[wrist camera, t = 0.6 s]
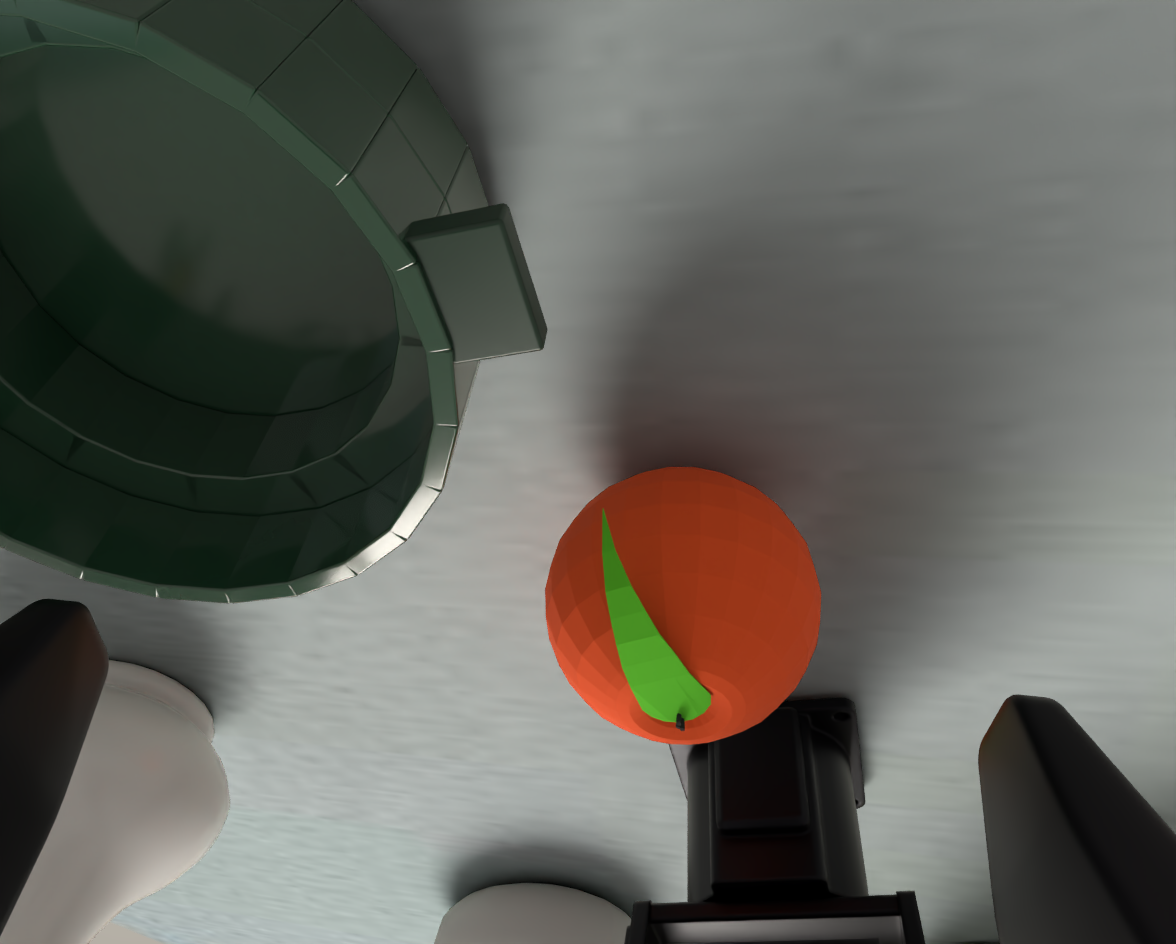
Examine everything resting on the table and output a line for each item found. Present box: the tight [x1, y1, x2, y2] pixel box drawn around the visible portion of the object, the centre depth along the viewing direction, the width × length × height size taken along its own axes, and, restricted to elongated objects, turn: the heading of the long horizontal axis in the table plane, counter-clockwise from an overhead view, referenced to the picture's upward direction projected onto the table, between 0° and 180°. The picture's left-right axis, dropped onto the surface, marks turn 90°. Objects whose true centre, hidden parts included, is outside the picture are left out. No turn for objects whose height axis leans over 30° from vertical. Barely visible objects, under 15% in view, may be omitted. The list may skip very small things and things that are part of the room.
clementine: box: [545, 467, 821, 745], centre depth 23 cm, size 8×7×7 cm
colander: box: [0, 0, 489, 603], centre depth 20 cm, size 13×13×6 cm
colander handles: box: [405, 203, 547, 364], centre depth 18 cm, size 3×17×1 cm, turn 104°
